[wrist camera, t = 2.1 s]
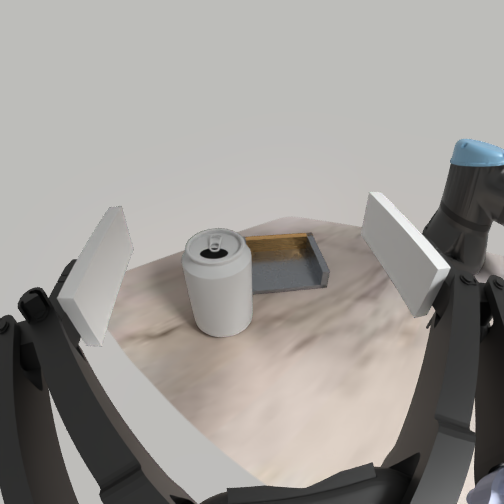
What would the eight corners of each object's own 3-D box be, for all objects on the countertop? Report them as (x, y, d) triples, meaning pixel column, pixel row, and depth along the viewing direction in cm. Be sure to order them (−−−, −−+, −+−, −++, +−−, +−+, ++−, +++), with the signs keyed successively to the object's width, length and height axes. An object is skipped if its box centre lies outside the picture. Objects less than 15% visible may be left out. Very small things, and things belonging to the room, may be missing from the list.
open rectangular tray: (309, 247, 48) (311, 232, 47) (326, 287, 40) (329, 271, 39) (239, 252, 48) (239, 237, 46) (244, 294, 40) (243, 279, 38)
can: (191, 339, 33) (170, 265, 26) (200, 297, 39) (187, 223, 32) (252, 342, 33) (249, 265, 26) (253, 298, 39) (252, 223, 32)
